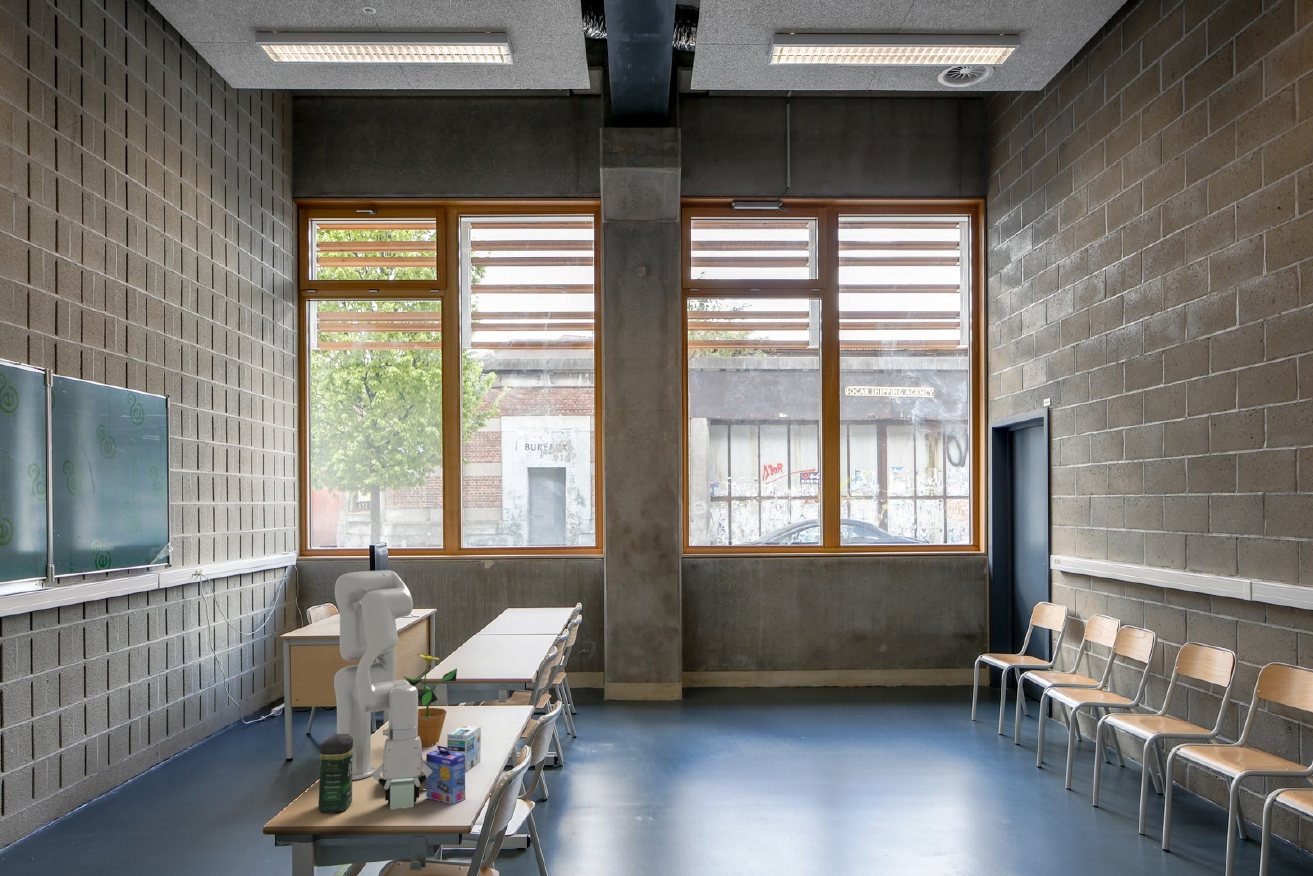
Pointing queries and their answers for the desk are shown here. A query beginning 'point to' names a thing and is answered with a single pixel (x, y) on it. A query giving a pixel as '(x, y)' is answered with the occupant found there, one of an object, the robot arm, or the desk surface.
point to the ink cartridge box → (446, 776)
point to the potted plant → (430, 717)
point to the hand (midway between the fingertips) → (402, 801)
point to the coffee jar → (335, 773)
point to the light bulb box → (466, 744)
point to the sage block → (402, 793)
